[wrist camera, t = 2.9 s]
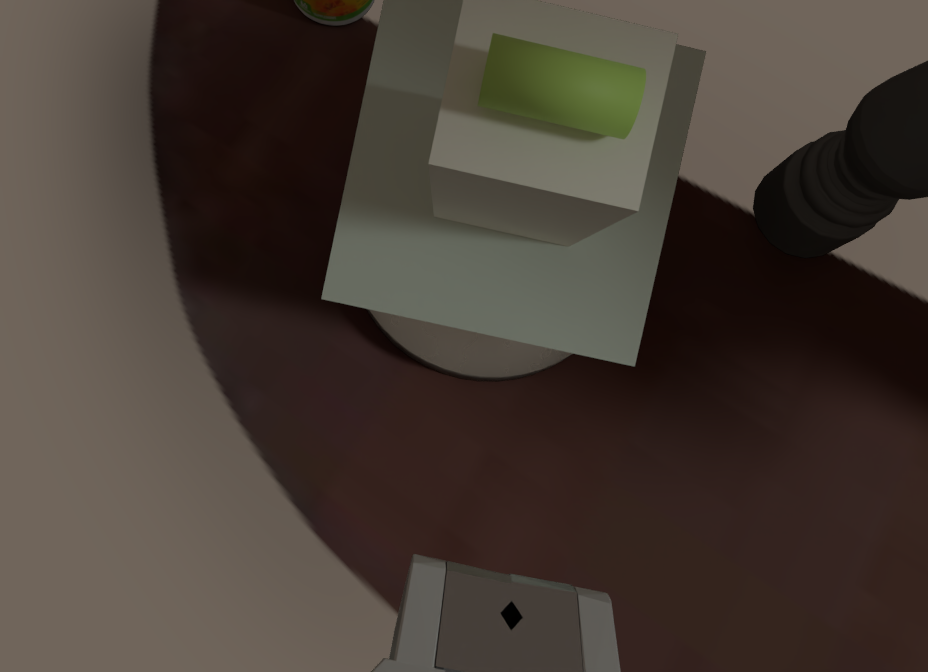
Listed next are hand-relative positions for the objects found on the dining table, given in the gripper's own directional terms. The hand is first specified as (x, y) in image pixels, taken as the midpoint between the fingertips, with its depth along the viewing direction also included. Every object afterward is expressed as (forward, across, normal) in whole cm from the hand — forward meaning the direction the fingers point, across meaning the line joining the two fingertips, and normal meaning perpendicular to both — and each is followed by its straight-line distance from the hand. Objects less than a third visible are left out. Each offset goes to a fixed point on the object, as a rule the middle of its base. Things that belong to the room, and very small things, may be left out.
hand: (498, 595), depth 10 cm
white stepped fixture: (+22, 0, +1) cm, 22 cm away
